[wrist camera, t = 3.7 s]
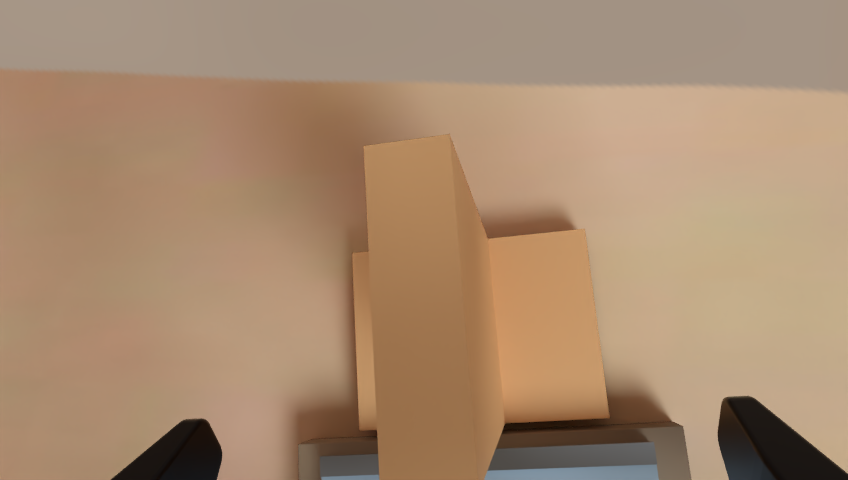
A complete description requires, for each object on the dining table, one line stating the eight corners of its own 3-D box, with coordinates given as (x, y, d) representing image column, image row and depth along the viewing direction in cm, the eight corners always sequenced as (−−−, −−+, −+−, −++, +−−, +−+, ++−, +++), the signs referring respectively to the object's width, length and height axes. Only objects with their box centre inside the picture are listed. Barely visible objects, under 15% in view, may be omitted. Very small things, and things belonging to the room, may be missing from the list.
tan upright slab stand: (607, 415, 18) (696, 485, 8) (364, 428, 19) (198, 501, 10) (583, 232, 19) (635, 108, 10) (357, 255, 21) (203, 167, 11)
